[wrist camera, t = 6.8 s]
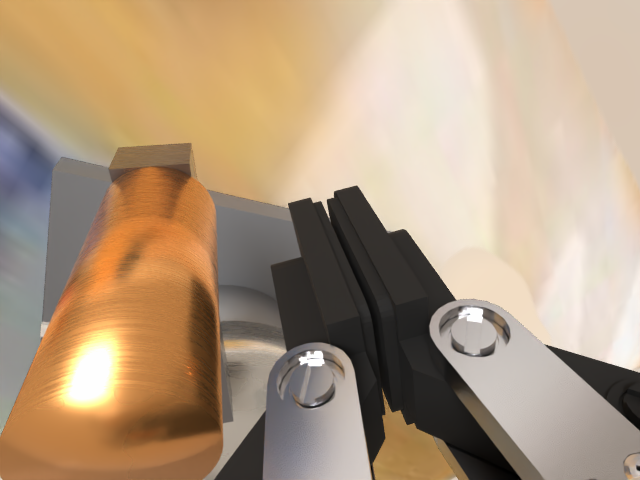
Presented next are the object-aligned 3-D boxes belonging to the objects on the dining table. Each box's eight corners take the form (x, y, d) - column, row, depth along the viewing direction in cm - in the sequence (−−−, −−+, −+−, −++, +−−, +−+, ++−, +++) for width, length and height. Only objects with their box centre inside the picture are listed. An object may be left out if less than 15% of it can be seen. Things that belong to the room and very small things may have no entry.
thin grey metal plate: (61, 157, 20) (16, 219, 16) (406, 235, 28) (448, 294, 23) (41, 415, 30) (8, 506, 25) (305, 423, 37) (319, 494, 32)
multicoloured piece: (329, 447, 29) (388, 684, 19) (125, 489, 26) (80, 783, 17) (345, 104, 16) (542, 317, 7) (-50, 124, 13) (-636, 511, 4)
